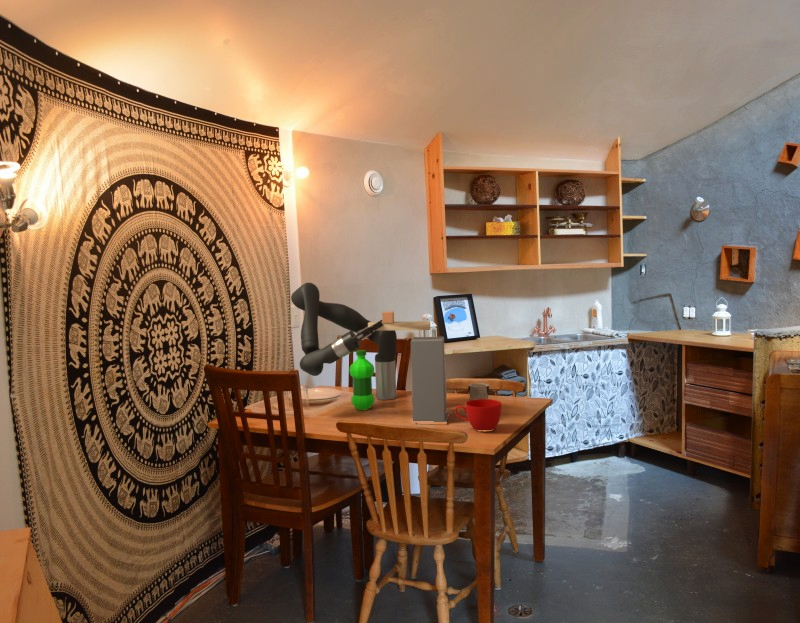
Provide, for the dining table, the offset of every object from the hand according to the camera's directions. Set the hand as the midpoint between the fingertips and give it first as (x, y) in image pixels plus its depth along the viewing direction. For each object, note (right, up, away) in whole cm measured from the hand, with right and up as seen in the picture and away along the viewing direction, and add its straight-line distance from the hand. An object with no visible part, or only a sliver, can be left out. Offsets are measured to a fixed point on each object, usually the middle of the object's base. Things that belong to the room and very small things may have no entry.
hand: (382, 322), depth 245 cm
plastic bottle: (-9, -37, +23) cm, 45 cm away
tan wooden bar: (+7, -3, -1) cm, 7 cm away
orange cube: (+2, 0, 0) cm, 2 cm away
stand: (+19, -38, +1) cm, 43 cm away
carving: (+39, -37, +7) cm, 54 cm away
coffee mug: (+40, -36, +18) cm, 57 cm away
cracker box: (+20, -36, +24) cm, 48 cm away
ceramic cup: (+36, -39, -15) cm, 55 cm away
